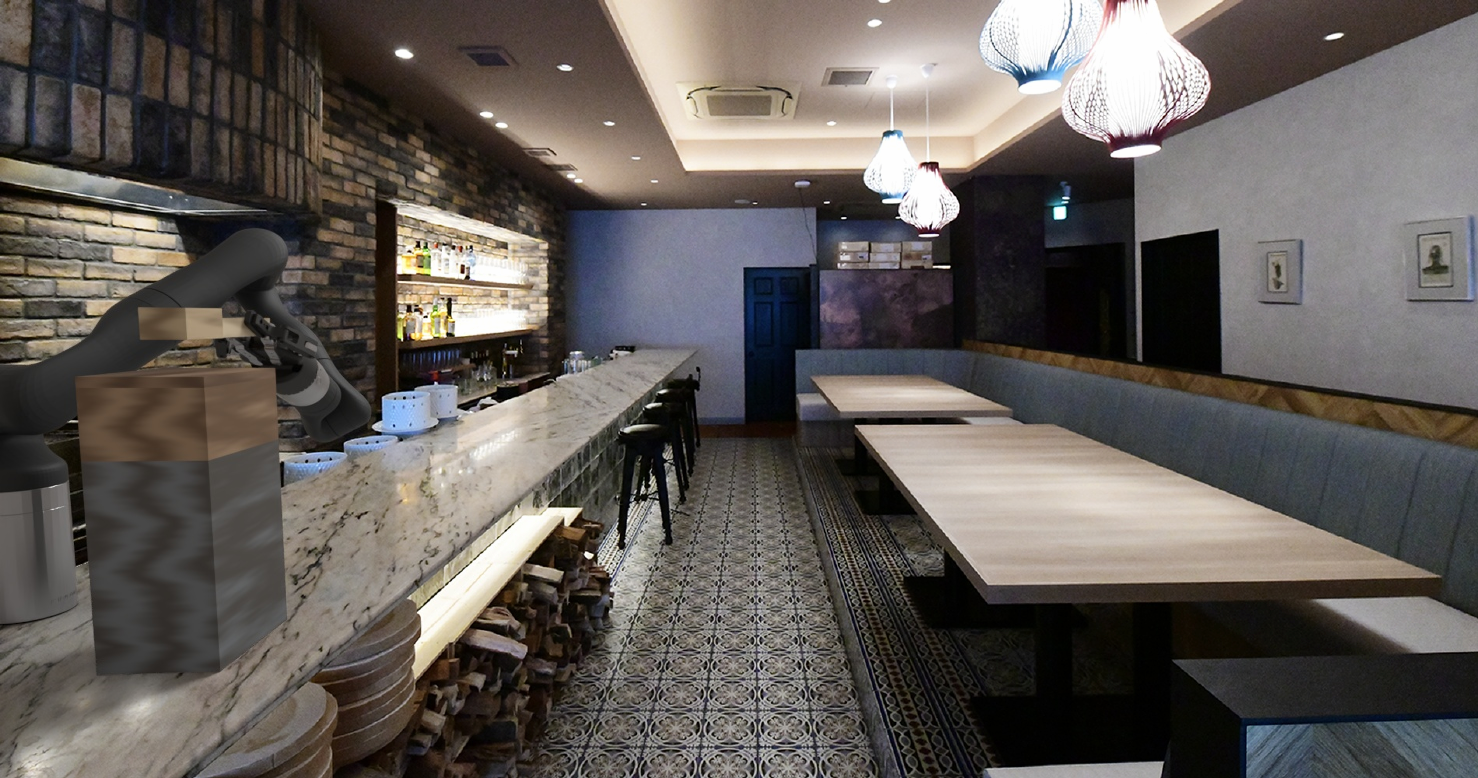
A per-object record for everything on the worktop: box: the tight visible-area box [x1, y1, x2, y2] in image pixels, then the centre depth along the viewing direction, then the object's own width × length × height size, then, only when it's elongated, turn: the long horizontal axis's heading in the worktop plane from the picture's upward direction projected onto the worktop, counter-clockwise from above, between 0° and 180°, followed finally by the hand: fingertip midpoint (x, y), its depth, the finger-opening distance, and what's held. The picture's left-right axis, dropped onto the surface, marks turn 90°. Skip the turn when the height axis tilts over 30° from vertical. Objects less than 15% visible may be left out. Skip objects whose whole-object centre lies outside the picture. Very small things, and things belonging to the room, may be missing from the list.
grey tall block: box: [75, 367, 288, 676], centre depth 91 cm, size 13×15×33 cm
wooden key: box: [138, 307, 270, 341], centre depth 95 cm, size 5×20×4 cm, turn 5°
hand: (233, 316), depth 99 cm, fingers closed on wooden key, 3 cm apart
